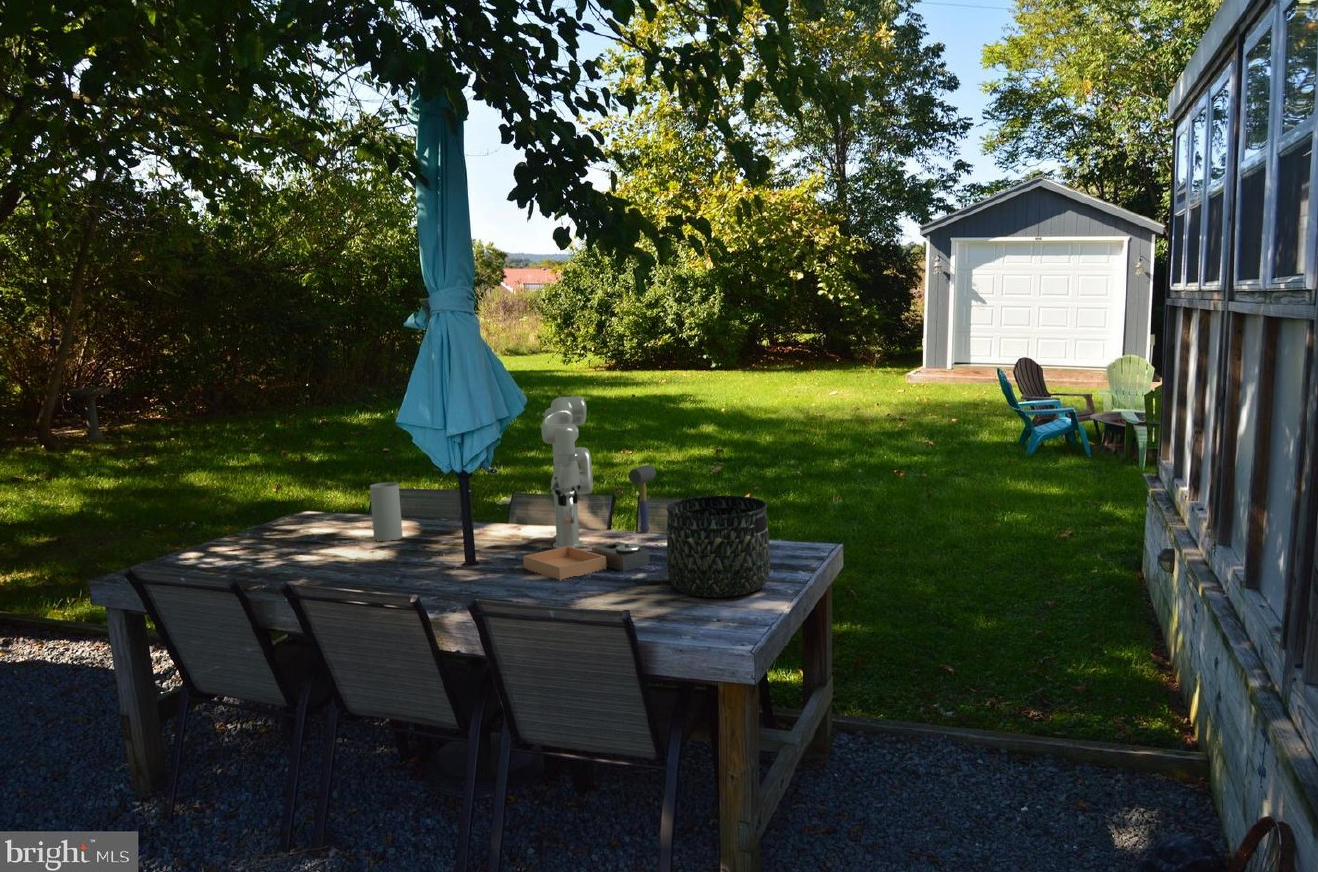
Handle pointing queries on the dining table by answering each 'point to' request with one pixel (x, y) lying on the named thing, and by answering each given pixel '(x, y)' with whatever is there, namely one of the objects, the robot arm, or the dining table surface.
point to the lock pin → (568, 506)
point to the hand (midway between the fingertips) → (568, 503)
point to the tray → (564, 562)
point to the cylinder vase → (386, 511)
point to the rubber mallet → (643, 490)
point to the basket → (718, 545)
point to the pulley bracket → (623, 555)
